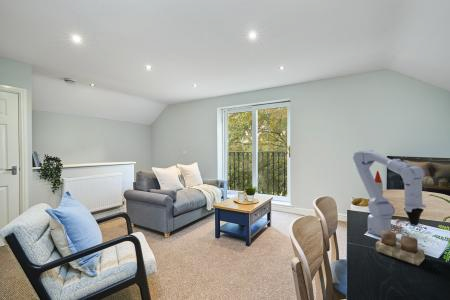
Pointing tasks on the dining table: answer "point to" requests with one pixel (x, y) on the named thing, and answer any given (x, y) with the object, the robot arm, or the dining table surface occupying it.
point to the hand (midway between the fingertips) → (414, 224)
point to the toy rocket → (379, 182)
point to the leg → (409, 244)
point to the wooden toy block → (397, 249)
